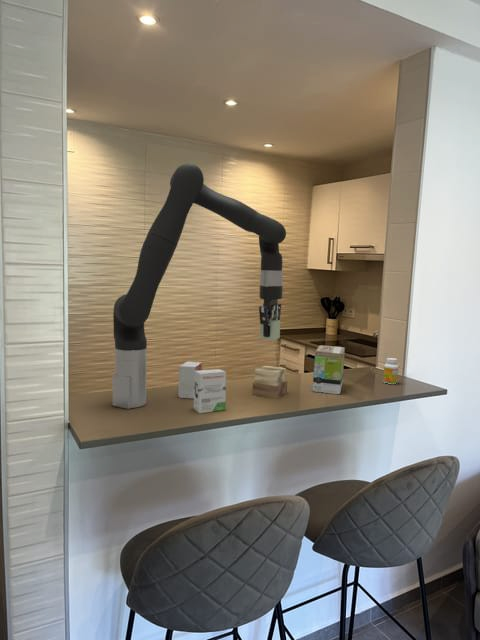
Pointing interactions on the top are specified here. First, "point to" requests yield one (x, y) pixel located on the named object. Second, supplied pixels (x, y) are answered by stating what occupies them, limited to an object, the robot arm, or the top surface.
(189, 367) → the small box
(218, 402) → the ink box
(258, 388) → the walnut block
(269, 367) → the maple block
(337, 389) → the tea box
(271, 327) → the sage block
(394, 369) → the supplement bottle
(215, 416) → the top surface
